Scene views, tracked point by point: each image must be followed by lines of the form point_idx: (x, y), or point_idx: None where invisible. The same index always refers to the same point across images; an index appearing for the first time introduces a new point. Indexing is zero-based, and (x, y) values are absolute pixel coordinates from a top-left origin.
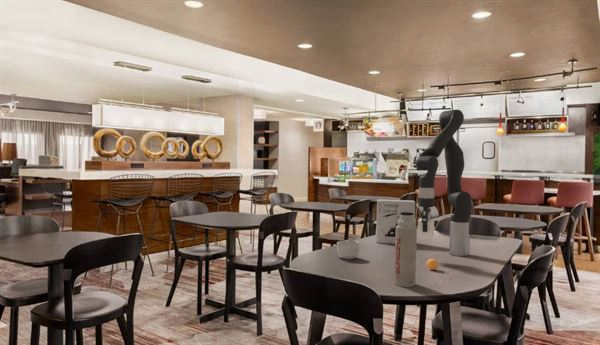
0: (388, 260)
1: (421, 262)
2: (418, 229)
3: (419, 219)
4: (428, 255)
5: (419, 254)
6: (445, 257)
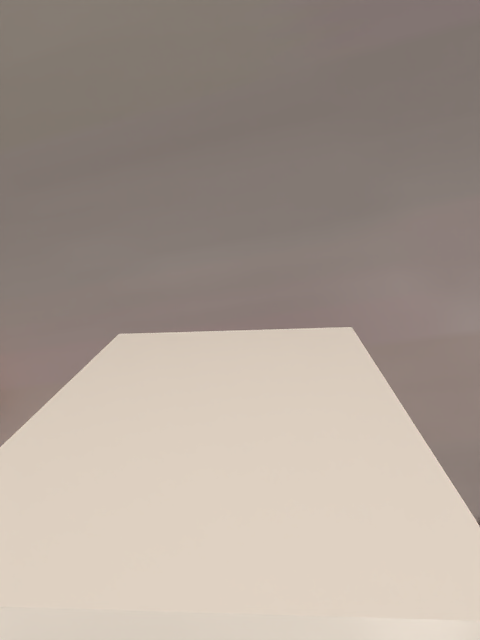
0: (38, 15)
1: (142, 303)
2: (63, 398)
3: (110, 631)
4: (452, 310)
5: (469, 232)
6: (422, 429)
